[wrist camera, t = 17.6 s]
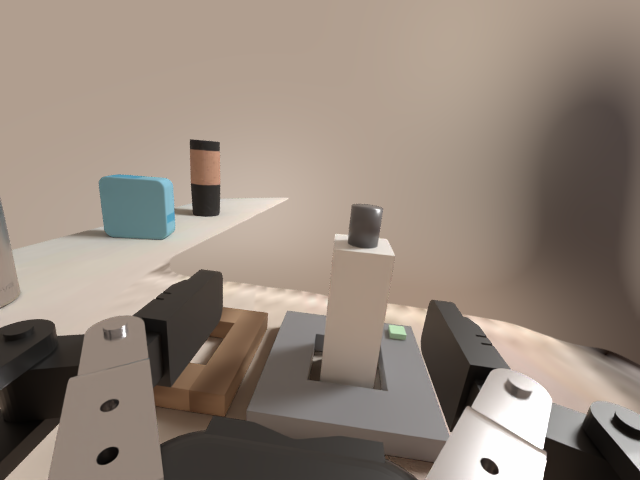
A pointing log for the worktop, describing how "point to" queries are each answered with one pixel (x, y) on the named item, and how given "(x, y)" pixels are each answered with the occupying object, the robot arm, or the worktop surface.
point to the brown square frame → (217, 366)
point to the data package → (137, 206)
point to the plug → (357, 300)
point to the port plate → (349, 393)
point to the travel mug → (205, 177)
